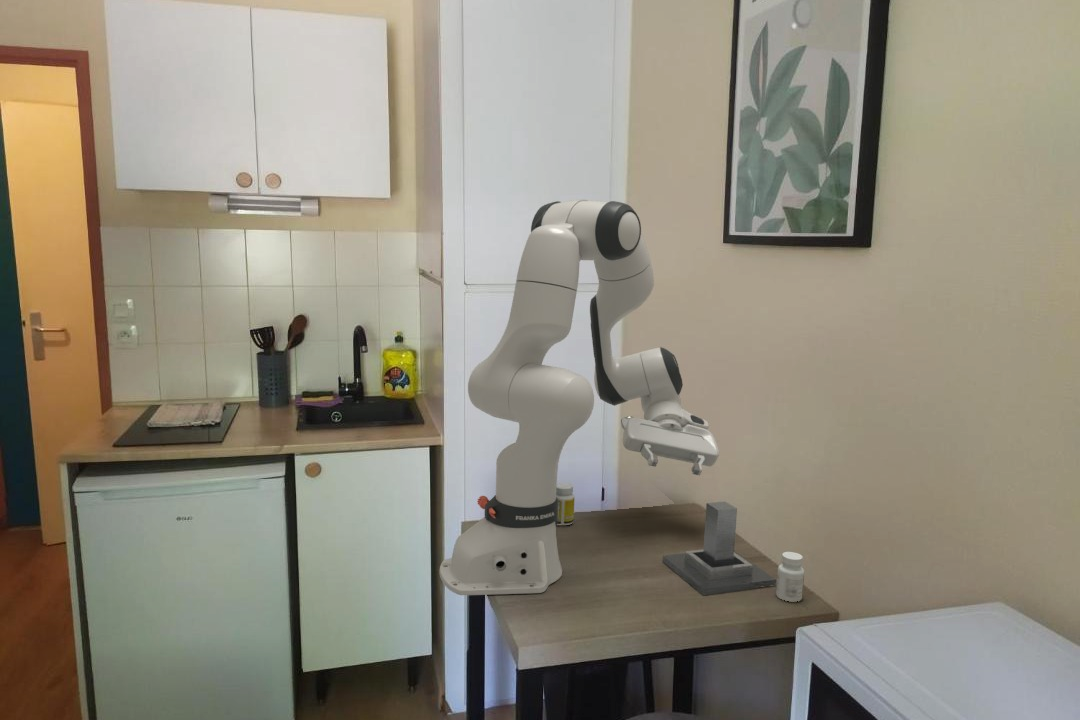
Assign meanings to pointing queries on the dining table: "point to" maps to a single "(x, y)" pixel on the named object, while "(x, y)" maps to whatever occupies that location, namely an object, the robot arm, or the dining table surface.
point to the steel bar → (719, 534)
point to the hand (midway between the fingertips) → (675, 468)
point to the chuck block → (717, 573)
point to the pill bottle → (790, 577)
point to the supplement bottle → (565, 503)
